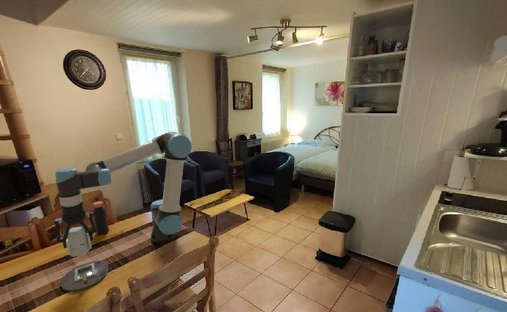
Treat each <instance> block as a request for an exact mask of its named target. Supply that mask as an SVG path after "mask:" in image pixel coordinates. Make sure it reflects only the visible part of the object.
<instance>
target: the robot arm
mask: <svg viewBox="0 0 507 312" xmlns="http://www.w3.org/2000/svg"><path fill="white" fill-rule="evenodd" d="M192 147H193V146H192V141H191V140H190V138H189V137H188V136H186V135H185V134H183V133H179V132H176V131H168V132H165V133H163V134H161V135H159V136H156V137H153V138H152V140H151V141H148V142H146V143H144V144H140V145H138V146H136V147H133V148H131V149H128V150H126V151H122V152H121V153H119V154H115V155H112V156H110V157H107V158H105V159H103V160H100V161H97V162H96V161H95V162H90V163H89V164H87V166H86V167H85V169H84V170H85V171H78V170H77V168H76V167H66V168H62V169H58V170H57V171H56V172H55V173H54V175H55V183H56V187H57V194H58V199H59V203H60V209H61V213H62V216H61V217H60V218H55V219H54V222H53V223H54V224H55V227H56V230H55V231H56V242H57V243H60V242H61V243H62V245H63V249H67V250H66V251H67V253H68V256H71V253H70V247H69V240H68V232H69V230H70V229H71V226H73V225H75V224H80V225H81V227H84V229H85V230H86V231H87V237H88V243H89V250H91V249H92V243H91V242H93V241H94V234H95V233H96V232H97V230H96V226H95V222H94V217H93V210H92V211H89V212H87V211H85V209H84V203H83V198H82V197H83V196H82V191H81V190H85V189H90V188H91V189H92V188H97V187H98V188H99V187H104V186H108V185H110V184H112V176H111V174H112V173H115V172H117V171H119V170H122V169H125V168H127V167H129V166H131V165H133V164H137V163H139V162H142V161H144V160H146V159H147V158H150V157H153V156H156V155H157V154H158V155H163V154H164V157H163V159H165V160H166V167H165V175H164V185H163V194H162V195H163V196H162V199H158V200H155V201H153V202H152V203H150V212H151V213H150V214H151V221H152V229H151V233H150V240H151V242H152V243H155V244H165V243H169V242H172V241H173V240H174V239H176V238H177V236H178V232H179V231H180V230H181V228H182V226H183V223H184V222H183V218H182V216H181V213H182V207H181V205H180V197H181V188H182V181H183V175H184V173H183V170H184V166H185V162H187V161H188V156H189V155H190V154H191V151H192ZM85 217H87V218H88V219H89V223H90V226H91V227H89V225H88V224H87V223H86V221H85V220H84V218H85ZM62 221H63V222H65V223H66V226H65V230H64V233H63V237H62V236H61V235H62V234H61V224H62ZM91 228H92V229H91Z"/></svg>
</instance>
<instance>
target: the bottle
mask: <svg viewBox="0 0 507 312" xmlns="http://www.w3.org/2000/svg"><path fill="white" fill-rule="evenodd" d="M92 205H93V210H92V212H93V220H94V223H95V226H96V230H97V232H96V235H97V236H102V234H103V235H105V233H106V234H107V233H108V232H109V231H110V229H109V223H108V216H107V210H106V207H104V202H103V201H101V200H100V201H99V200H98V201H95V202H93V203H92Z"/></svg>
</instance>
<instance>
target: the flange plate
mask: <svg viewBox="0 0 507 312" xmlns="http://www.w3.org/2000/svg"><path fill="white" fill-rule="evenodd" d="M108 272H109V266H108V264H107V263H106V262H105V261H100V260H95V261H88V262H85V263H81V264H80V265H77V266H75V267H73V268H72V269H71V270H69V271H67V273H65V274H64V275H63V276H62V277H61V281H60V286H61V289H62V290H63V291H64V292H65V291H66V292H70V293H71V292H78V291H80V292H81V291H82V290H85V289H88V288H91V287H93V286H95V285H96V284H98V283H99V282H101V281H102V280H103V279H104V278H105V277H106V276H107V274H108Z"/></svg>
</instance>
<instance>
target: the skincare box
mask: <svg viewBox="0 0 507 312" xmlns="http://www.w3.org/2000/svg"><path fill="white" fill-rule="evenodd" d="M87 234H88V233H87V231H86V230H85V229H84V227H83V226H77V227H76V226H75V227H70V229H69V232H68V235H67V239H68V240H69V247H70V253H71V255H70V257H80V256H82V257H83V256H86V255H87V254H88V253H89V251H90V249H89V243H88V237H87Z"/></svg>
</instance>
